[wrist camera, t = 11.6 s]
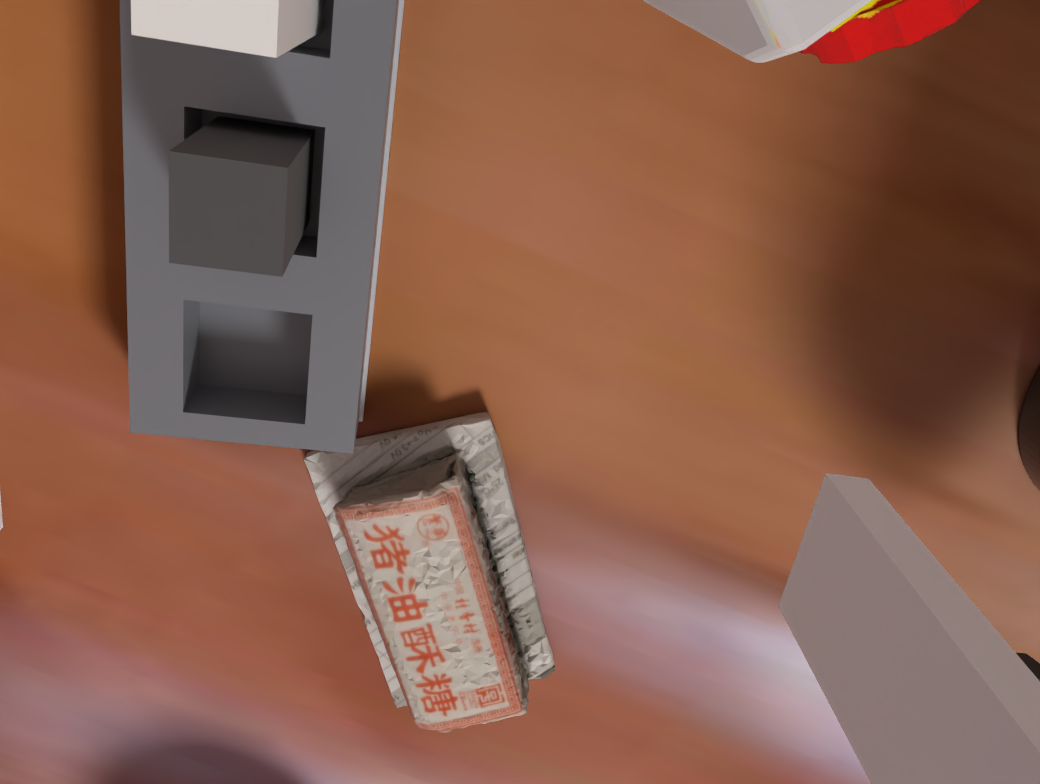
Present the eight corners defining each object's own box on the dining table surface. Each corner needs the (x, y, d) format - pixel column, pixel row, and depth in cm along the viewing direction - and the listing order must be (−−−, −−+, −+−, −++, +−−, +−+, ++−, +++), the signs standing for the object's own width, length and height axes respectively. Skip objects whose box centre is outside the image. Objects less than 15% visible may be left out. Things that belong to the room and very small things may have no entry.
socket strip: (416, -123, 35) (415, -134, 32) (363, 418, 45) (357, 457, 42) (142, -176, 34) (108, -194, 30) (150, 397, 44) (125, 436, 40)
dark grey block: (315, 130, 38) (288, 168, 31) (309, 221, 40) (282, 276, 32) (218, 116, 37) (168, 150, 30) (217, 208, 39) (168, 262, 32)
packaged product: (566, 719, 50) (393, 757, 50) (555, 658, 54) (397, 694, 54) (496, 447, 42) (291, 494, 42) (490, 402, 46) (304, 445, 46)
